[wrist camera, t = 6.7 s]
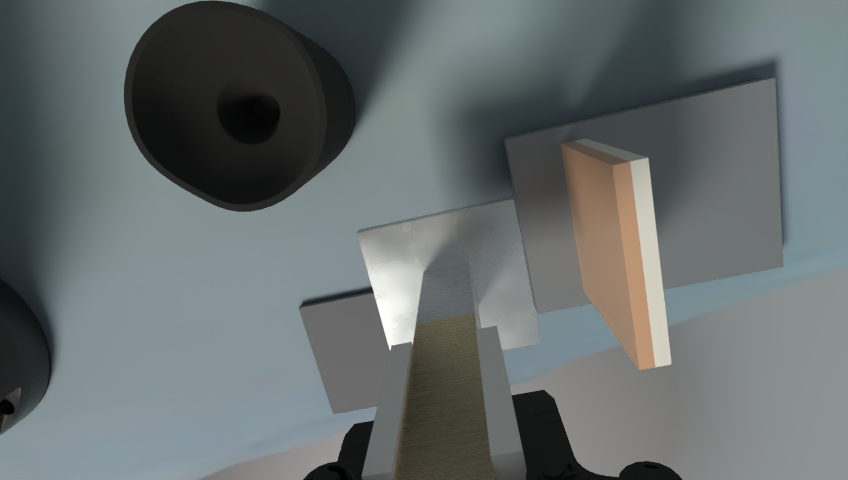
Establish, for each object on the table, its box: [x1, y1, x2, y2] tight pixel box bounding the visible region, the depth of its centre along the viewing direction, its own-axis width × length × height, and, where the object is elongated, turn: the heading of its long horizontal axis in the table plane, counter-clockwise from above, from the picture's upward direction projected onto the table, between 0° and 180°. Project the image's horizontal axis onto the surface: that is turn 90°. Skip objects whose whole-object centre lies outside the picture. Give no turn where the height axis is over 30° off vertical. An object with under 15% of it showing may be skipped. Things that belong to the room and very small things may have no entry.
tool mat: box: [299, 291, 390, 414], centre depth 36 cm, size 11×9×1 cm
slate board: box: [503, 78, 783, 314], centre depth 32 cm, size 16×12×2 cm
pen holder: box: [124, 1, 355, 212], centre depth 27 cm, size 9×9×10 cm
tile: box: [561, 138, 671, 370], centre depth 27 cm, size 2×10×10 cm, turn 13°
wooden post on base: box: [357, 197, 541, 480], centre depth 18 cm, size 8×8×18 cm
